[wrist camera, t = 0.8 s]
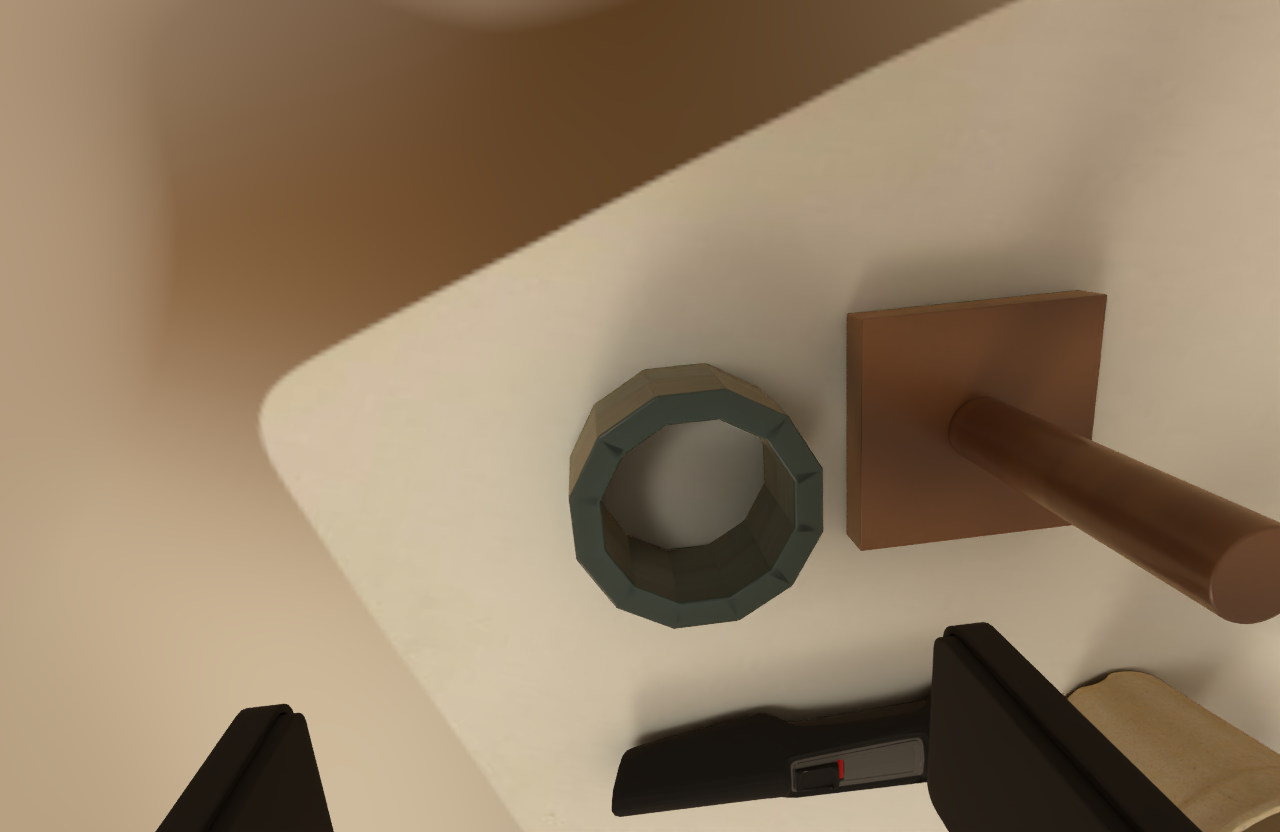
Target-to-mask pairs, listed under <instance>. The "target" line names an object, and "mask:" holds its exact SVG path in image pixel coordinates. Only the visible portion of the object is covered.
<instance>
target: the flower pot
mask: <svg viewBox="0 0 1280 832" xmlns="http://www.w3.org/2000/svg"><path fill="white" fill-rule="evenodd" d="M1067 700H1068V701H1070V702H1071V703H1072V704H1073V705H1074V706H1075V707H1076V708H1077V709H1078V710H1079V711H1080V712H1081V713H1082V714H1083V715H1084V716H1085V717H1086V718H1087V719H1088V720H1089V721H1090V722H1091V723H1092V724H1093V725H1094V726H1095V727H1096V728H1097V729H1098V730H1099V731H1100V732H1101V733H1102V734H1103V735H1104V736H1105V737H1106V738H1107V739H1108V740H1109V741H1110V742H1111V743H1112V744H1113V745H1114V746H1115V747H1117V748H1118V749H1119V750H1120V751H1121V752H1122V753H1123V754H1124V755H1125V756H1126V757H1127V758H1128V759H1129V760H1130V761H1131V762H1132V763H1133V764H1134V765H1135V766H1136V767H1137V768H1138V769H1139V770H1140V771H1141V772H1142V773H1143V774H1144V775H1145V776H1146V777H1147V778H1148V779H1149V780H1150V781H1151V782H1152V783H1153V784H1154V785H1155V786H1156V787H1157V788H1158V789H1159V790H1160V791H1161V792H1162V793H1164V794H1165V795H1166V796H1167V797H1168V798H1169V799H1170V800H1171V801H1172V802H1173V803H1174V804H1175V805H1176V806H1177V807H1178V808H1179V809H1180V810H1181V811H1182V812H1183V813H1184V814H1185V815H1186V816H1187V817H1188V818H1189V819H1190V820H1191V821H1192V822H1193V823H1194V824H1195V825H1196V826H1197V827H1198V828H1199V829H1200V830H1201V831H1202V832H1280V755H1279V754H1278V753H1276V752H1275V751H1273V750H1271V749H1270V748H1268V747H1267V746H1265V745H1263V744H1262V743H1260V742H1259V741H1257V740H1255V739H1254V738H1252V737H1251V736H1249V735H1247V734H1246V733H1244V732H1242V731H1241V730H1239V729H1237V728H1236V727H1234V726H1233V725H1231V724H1229V723H1228V722H1226V721H1224V720H1223V719H1221V718H1220V717H1218V716H1216V715H1215V714H1213V713H1212V712H1210V711H1208V710H1207V709H1205V708H1204V707H1202V706H1200V705H1199V704H1197V703H1196V702H1194V701H1192V700H1191V699H1189V698H1187V697H1186V696H1184V695H1183V694H1181V693H1179V692H1178V691H1176V690H1175V689H1173V688H1171V687H1170V686H1168V685H1167V684H1166V683H1164V682H1163V681H1161V680H1160V679H1158V678H1156V677H1154V676H1151V675H1149V674H1145V673H1141V672H1132V671H1124V672H1115V673H1110V674H1109V675H1108V676H1107V678H1106V679H1105V680H1103V681H1101V682H1099V683H1097V684H1094V685H1090V686H1085V687H1080V688H1079V689H1077V690H1076V691H1075V692H1074V693H1073V694H1071V695H1070V696H1069V697H1068V698H1067Z"/></svg>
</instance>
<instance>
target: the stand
mask: <svg viewBox="0 0 1280 832" xmlns="http://www.w3.org/2000/svg"><path fill="white" fill-rule="evenodd" d="M1106 302H1107V295H1106V294H1100V293H1093V292H1087V291H1080V290H1076V291H1066V292H1056V293H1046V294H1036V295H1026V296H1016V297H1007V298H997V299H987V300H977V301H967V302H957V303H947V304H937V305H927V306H917V307H908V308H898V309H888V310H878V311H868V312H858V313H848V314H847V535H848V536H849V537H850V539H851V540H852V541H853V542H854V543H855V544H856V546H857V547H858V548H859V549H860V550H861V551H864V550H872V549H880V548H888V547H897V546H905V545H913V544H921V543H929V542H937V541H946V540H954V539H962V538H970V537H978V536H986V535H994V534H1003V533H1011V532H1019V531H1027V530H1035V529H1043V528H1052V527H1060V526H1068V525H1074V526H1075V527H1077V528H1079V529H1080V530H1082V531H1083V532H1085V533H1087V534H1088V535H1090V536H1091V537H1093V538H1095V539H1096V540H1098V541H1099V542H1101V543H1103V544H1104V545H1106V546H1107V547H1109V548H1111V549H1112V550H1114V551H1115V552H1117V553H1119V554H1120V555H1122V556H1124V557H1125V558H1127V559H1128V560H1130V561H1132V562H1133V563H1135V564H1136V565H1138V566H1140V567H1141V568H1143V569H1144V570H1146V571H1148V572H1149V573H1151V574H1152V575H1154V576H1156V577H1157V578H1159V579H1161V580H1162V581H1164V582H1165V583H1167V584H1169V585H1170V586H1172V587H1173V588H1175V589H1177V590H1178V591H1180V592H1181V593H1183V594H1185V595H1186V596H1188V597H1189V598H1191V599H1193V600H1194V601H1196V602H1197V603H1199V604H1201V605H1202V606H1204V607H1206V608H1207V609H1209V610H1210V611H1212V612H1214V613H1215V614H1217V615H1218V616H1220V617H1222V618H1223V619H1225V620H1227V621H1230V622H1234V623H1239V624H1254V623H1259V622H1262V621H1266V620H1268V619H1271V618H1273V617H1275V616H1277V615H1278V614H1280V523H1279V522H1277V521H1275V520H1273V519H1270V518H1268V517H1266V516H1263V515H1261V514H1259V513H1256V512H1254V511H1252V510H1250V509H1247V508H1245V507H1243V506H1240V505H1238V504H1236V503H1233V502H1231V501H1229V500H1227V499H1224V498H1222V497H1220V496H1217V495H1215V494H1213V493H1211V492H1208V491H1206V490H1204V489H1201V488H1199V487H1197V486H1194V485H1192V484H1190V483H1188V482H1185V481H1183V480H1181V479H1178V478H1176V477H1174V476H1172V475H1169V474H1167V473H1165V472H1162V471H1160V470H1158V469H1155V468H1153V467H1151V466H1149V465H1146V464H1144V463H1142V462H1139V461H1137V460H1135V459H1133V458H1130V457H1128V456H1126V455H1123V454H1121V453H1119V452H1116V451H1114V450H1112V449H1110V448H1107V447H1105V446H1103V445H1100V444H1098V443H1096V442H1094V441H1092V431H1093V422H1094V413H1095V404H1096V394H1097V385H1098V376H1099V366H1100V357H1101V348H1102V339H1103V329H1104V320H1105V311H1106Z"/></svg>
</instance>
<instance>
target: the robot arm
mask: <svg viewBox="0 0 1280 832" xmlns="http://www.w3.org/2000/svg"><path fill="white" fill-rule="evenodd" d="M927 785H928V791H929V795H930V798H931V801H932V803H933V806H934V808H935V810H936V811H937V813H938V815H939V816H940V818H941V820H942V821H943V823H944V825H945V826H946V828H947V830H948V831H949V832H1202V831H1201V830H1200V829H1199V828H1198V827H1197V826H1196V825H1195V824H1194V823H1193V822H1192V821H1191V820H1190V819H1189V818H1188V817H1187V816H1186V815H1185V814H1184V813H1183V812H1182V811H1181V810H1180V809H1179V808H1178V807H1177V806H1176V805H1175V804H1174V803H1173V802H1172V801H1171V800H1170V799H1169V798H1168V797H1167V796H1166V795H1165V794H1164V793H1162V792H1161V791H1160V790H1159V789H1158V788H1157V787H1156V786H1155V785H1154V784H1153V783H1152V782H1151V781H1150V780H1149V779H1148V778H1147V777H1146V776H1145V775H1144V774H1143V773H1142V772H1141V771H1140V770H1139V769H1138V768H1137V767H1136V766H1135V765H1134V764H1133V763H1132V762H1131V761H1130V760H1129V759H1128V758H1127V757H1126V756H1125V755H1124V754H1123V753H1122V752H1121V751H1120V750H1119V749H1118V748H1117V747H1115V746H1114V745H1113V744H1112V743H1111V742H1110V741H1109V740H1108V739H1107V738H1106V737H1105V736H1104V735H1103V734H1102V733H1101V732H1100V731H1099V730H1098V729H1097V728H1096V727H1095V726H1094V725H1093V724H1092V723H1091V722H1090V721H1089V720H1088V719H1087V718H1086V717H1085V716H1084V715H1083V714H1082V713H1081V712H1080V711H1079V710H1078V709H1077V708H1076V707H1075V706H1074V705H1073V704H1072V703H1071V702H1070V701H1068V700H1067V699H1066V698H1065V697H1064V696H1063V695H1062V694H1061V693H1060V692H1059V691H1058V690H1057V689H1056V688H1055V687H1054V686H1053V685H1052V684H1051V683H1050V682H1049V681H1048V680H1047V679H1046V678H1045V677H1044V676H1043V675H1042V674H1041V673H1040V672H1039V671H1038V670H1037V669H1036V668H1035V667H1034V666H1033V665H1032V664H1031V663H1030V662H1029V661H1028V660H1027V659H1026V658H1025V657H1024V656H1022V655H1021V654H1020V653H1019V652H1018V651H1017V650H1016V649H1015V648H1014V647H1013V646H1012V645H1011V644H1010V643H1009V642H1008V641H1007V640H1006V639H1005V638H1004V637H1003V636H1002V635H1001V634H1000V633H999V632H998V631H997V630H996V629H995V628H994V627H993V626H991V625H990V624H989V623H985V622H981V623H972V624H964V625H955V626H949V627H947V628H946V629H945V631H944V635H943V637H939V638H937V639H936V640H935V642H934V652H933V672H932V692H931V712H930V732H929V752H928V772H927ZM156 832H334V831H333V827H332V823H331V819H330V815H329V811H328V808H327V803H326V799H325V795H324V791H323V787H322V783H321V779H320V775H319V771H318V767H317V763H316V759H315V755H314V751H313V748H312V743H311V739H310V735H309V731H308V727H307V723H306V720H305V717H304V716H303V715H302V714H301V713H293V710H292V708H291V707H290V706H289V705H287V704H279V705H270V706H261V707H253V708H246V709H243V710H241V711H240V713H239V714H238V715H237V716H236V717H235V719H234V720H233V722H232V723H231V724H230V726H229V727H228V729H227V730H226V732H225V733H224V734H223V736H222V737H221V739H220V740H219V742H218V743H217V744H216V746H215V747H214V749H213V750H212V752H211V753H210V755H209V756H208V757H207V759H206V761H205V762H204V763H203V765H202V766H201V767H200V769H199V770H198V772H197V773H196V775H195V776H194V778H193V779H192V780H191V782H190V783H189V785H188V786H187V788H186V789H185V790H184V792H183V793H182V795H181V796H180V798H179V799H178V800H177V802H176V803H175V805H174V806H173V808H172V809H171V810H170V812H169V813H168V815H167V816H166V818H165V819H164V820H163V822H162V823H161V825H160V826H159V828H158V829H157V831H156Z"/></svg>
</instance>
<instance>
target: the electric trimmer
mask: <svg viewBox="0 0 1280 832" xmlns="http://www.w3.org/2000/svg"><path fill="white" fill-rule="evenodd" d="M930 712H931V695H930V696H929V697H928V698H927V699H926V700H922V701H918V702H913V703H907V704H901V705H895V706H889V707H883V708H877V709H871V710H865V711H859V712H853V713H846V714H840V715H834V716H828V717H822V718H816V719H810V720H804V721H798V722H792V723H789V722H786V721H784V720H782V719H779V718H777V717H774V716H772V715H769V714H767V713H759V714H755V715H751V716H747V717H743V718H739V719H735V720H731V721H728V722H724V723H720V724H716V725H712V726H709V727H705V728H702V729H698V730H694V731H691V732H687V733H684V734H680V735H676V736H673V737H669V738H666V739H662V740H658V741H655V742H651V743H648V744H644V745H641V746H637V747H634V748H632V749H629V750H627V751H626V752H625V753H624V755H623V756H622V759H621V762H620V765H619V769H618V773H617V777H616V781H615V785H614V789H613V797H612V812H613V813H614V815H615V816H619V817H623V816H631V815H639V814H647V813H655V812H663V811H671V810H679V809H686V808H694V807H702V806H710V805H718V804H726V803H734V802H742V801H750V800H758V799H767V798H777V797H787V798H798V797H806V796H814V795H823V794H831V793H840V792H848V791H856V790H865V789H873V788H881V787H890V786H898V785H907V784H915V783H923V782H927V772H928V752H929V732H930Z"/></svg>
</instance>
